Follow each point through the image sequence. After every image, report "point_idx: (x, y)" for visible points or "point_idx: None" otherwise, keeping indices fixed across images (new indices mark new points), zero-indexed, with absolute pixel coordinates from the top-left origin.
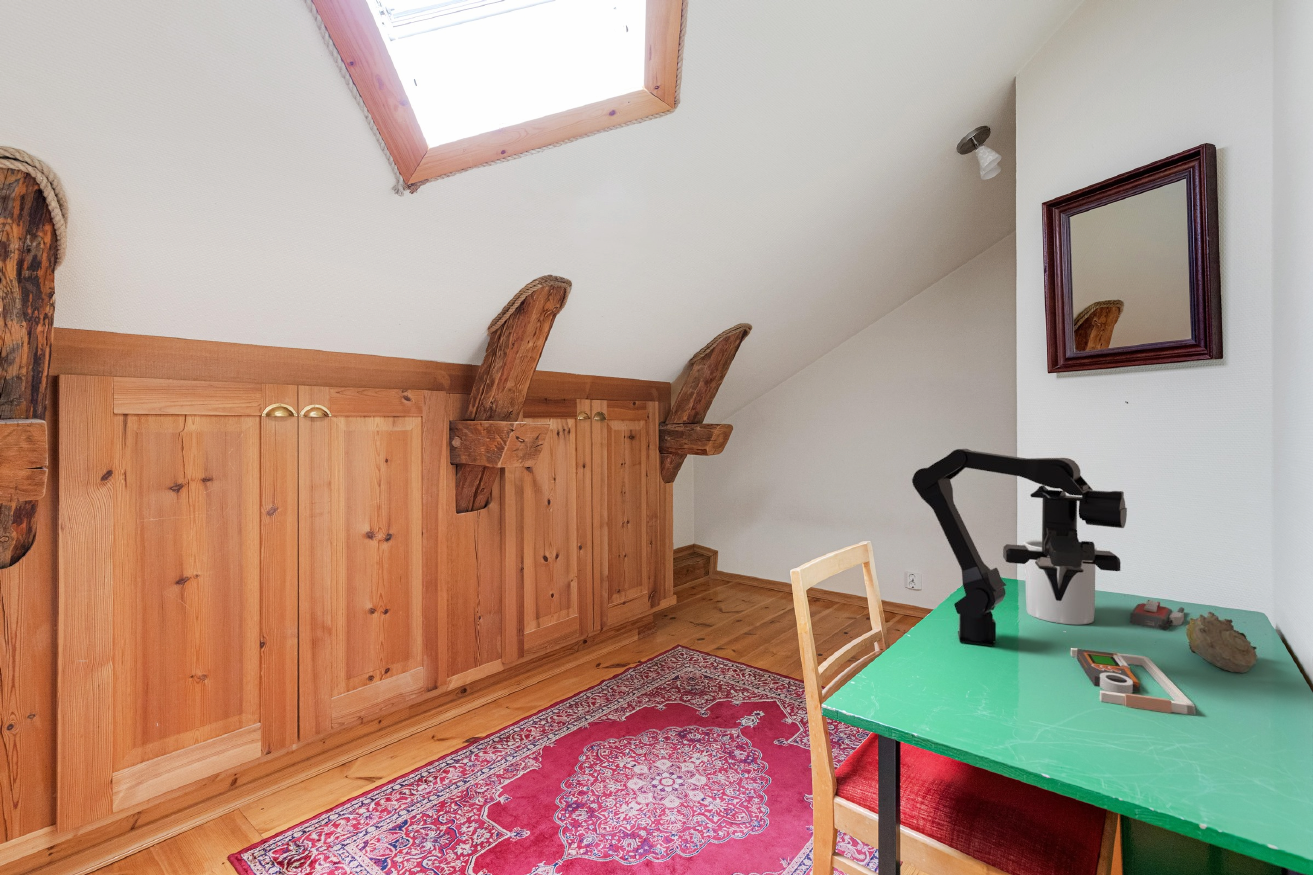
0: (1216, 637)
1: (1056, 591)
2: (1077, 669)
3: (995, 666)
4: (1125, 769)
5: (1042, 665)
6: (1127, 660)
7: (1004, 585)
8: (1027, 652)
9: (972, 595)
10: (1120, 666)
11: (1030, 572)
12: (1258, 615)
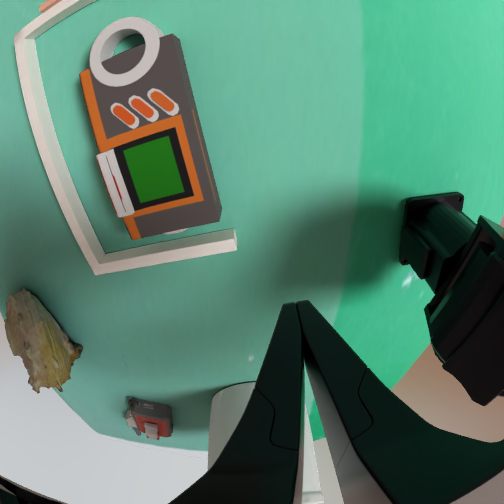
0: (18, 335)
1: (322, 336)
2: (219, 137)
3: (410, 61)
4: None
5: (305, 118)
6: (125, 253)
7: (455, 356)
8: (336, 202)
9: None
10: (114, 149)
11: (311, 456)
12: (95, 429)
